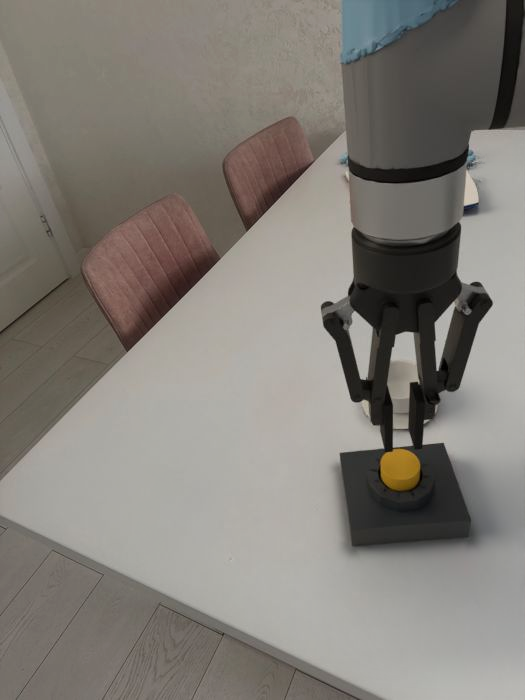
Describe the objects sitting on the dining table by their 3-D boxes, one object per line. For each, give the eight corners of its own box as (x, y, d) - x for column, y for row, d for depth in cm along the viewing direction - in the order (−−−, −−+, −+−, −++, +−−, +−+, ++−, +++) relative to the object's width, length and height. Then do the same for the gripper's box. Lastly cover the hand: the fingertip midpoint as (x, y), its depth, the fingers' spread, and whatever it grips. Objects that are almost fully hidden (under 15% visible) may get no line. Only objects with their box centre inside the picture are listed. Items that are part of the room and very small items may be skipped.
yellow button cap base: (441, 459, 59) (444, 432, 56) (468, 537, 52) (473, 509, 49) (341, 469, 61) (338, 442, 58) (351, 546, 53) (349, 520, 50)
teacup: (389, 442, 63) (389, 417, 60) (347, 395, 70) (346, 371, 67) (454, 411, 65) (457, 385, 62) (407, 368, 72) (407, 343, 69)
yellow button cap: (414, 458, 55) (415, 446, 53) (423, 489, 52) (424, 477, 50) (377, 462, 55) (377, 450, 54) (384, 493, 52) (384, 481, 51)
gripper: (497, 184, 37) (467, 404, 52) (295, 215, 39) (321, 420, 53) (540, 229, 31) (492, 463, 46) (300, 262, 33) (328, 478, 48)
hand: (400, 439), depth 50 cm, fingers open, 2 cm apart
